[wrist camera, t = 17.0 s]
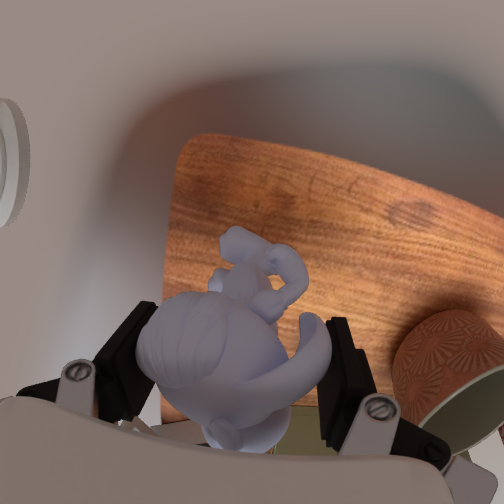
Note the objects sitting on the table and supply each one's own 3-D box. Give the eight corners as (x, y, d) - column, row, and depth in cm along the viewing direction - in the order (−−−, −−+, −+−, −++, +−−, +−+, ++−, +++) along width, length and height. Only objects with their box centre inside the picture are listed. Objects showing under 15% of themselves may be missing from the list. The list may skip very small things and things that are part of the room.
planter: (434, 395, 27) (459, 462, 17) (360, 374, 27) (376, 458, 17) (496, 317, 23) (546, 375, 13) (430, 277, 23) (489, 346, 13)
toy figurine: (216, 202, 17) (99, 306, 6) (320, 234, 17) (371, 387, 6) (192, 300, 19) (112, 445, 8) (282, 327, 19) (273, 493, 8)
